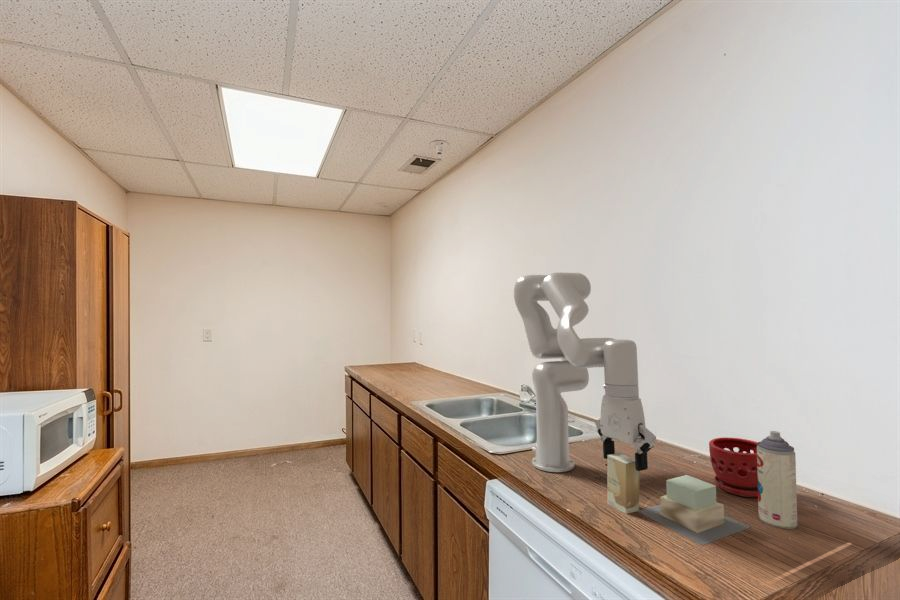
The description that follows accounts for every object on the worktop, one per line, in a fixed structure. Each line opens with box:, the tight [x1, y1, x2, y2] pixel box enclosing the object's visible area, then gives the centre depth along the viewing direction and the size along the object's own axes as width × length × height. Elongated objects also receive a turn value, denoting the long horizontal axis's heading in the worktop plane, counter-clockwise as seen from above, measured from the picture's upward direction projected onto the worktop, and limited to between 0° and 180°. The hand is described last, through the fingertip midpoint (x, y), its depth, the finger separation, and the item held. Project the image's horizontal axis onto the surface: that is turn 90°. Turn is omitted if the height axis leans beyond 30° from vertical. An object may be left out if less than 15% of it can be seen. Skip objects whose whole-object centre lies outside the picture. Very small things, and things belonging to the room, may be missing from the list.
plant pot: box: [708, 437, 759, 498], centre depth 111 cm, size 13×13×12 cm
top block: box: [665, 474, 717, 511], centre depth 95 cm, size 7×7×4 cm
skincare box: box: [606, 452, 640, 515], centre depth 102 cm, size 6×4×12 cm
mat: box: [636, 503, 751, 546], centre depth 95 cm, size 16×16×1 cm
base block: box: [659, 494, 725, 533], centre depth 95 cm, size 9×9×4 cm
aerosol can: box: [757, 430, 798, 530], centre depth 94 cm, size 7×7×20 cm
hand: (624, 463), depth 101 cm, fingers open, 9 cm apart
